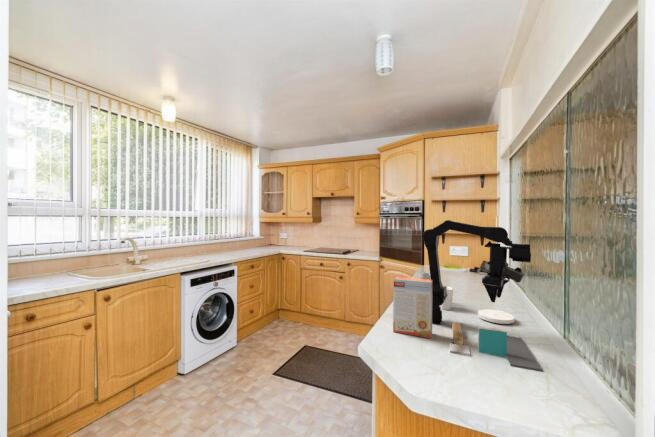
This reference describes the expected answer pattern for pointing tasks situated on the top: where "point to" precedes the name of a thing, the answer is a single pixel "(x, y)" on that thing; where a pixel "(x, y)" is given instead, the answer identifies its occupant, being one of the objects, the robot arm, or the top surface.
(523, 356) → the mat
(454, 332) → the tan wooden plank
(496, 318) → the white gear
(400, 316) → the cracker box
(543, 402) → the top surface
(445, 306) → the white cup
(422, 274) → the energy drink can
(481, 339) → the tile
